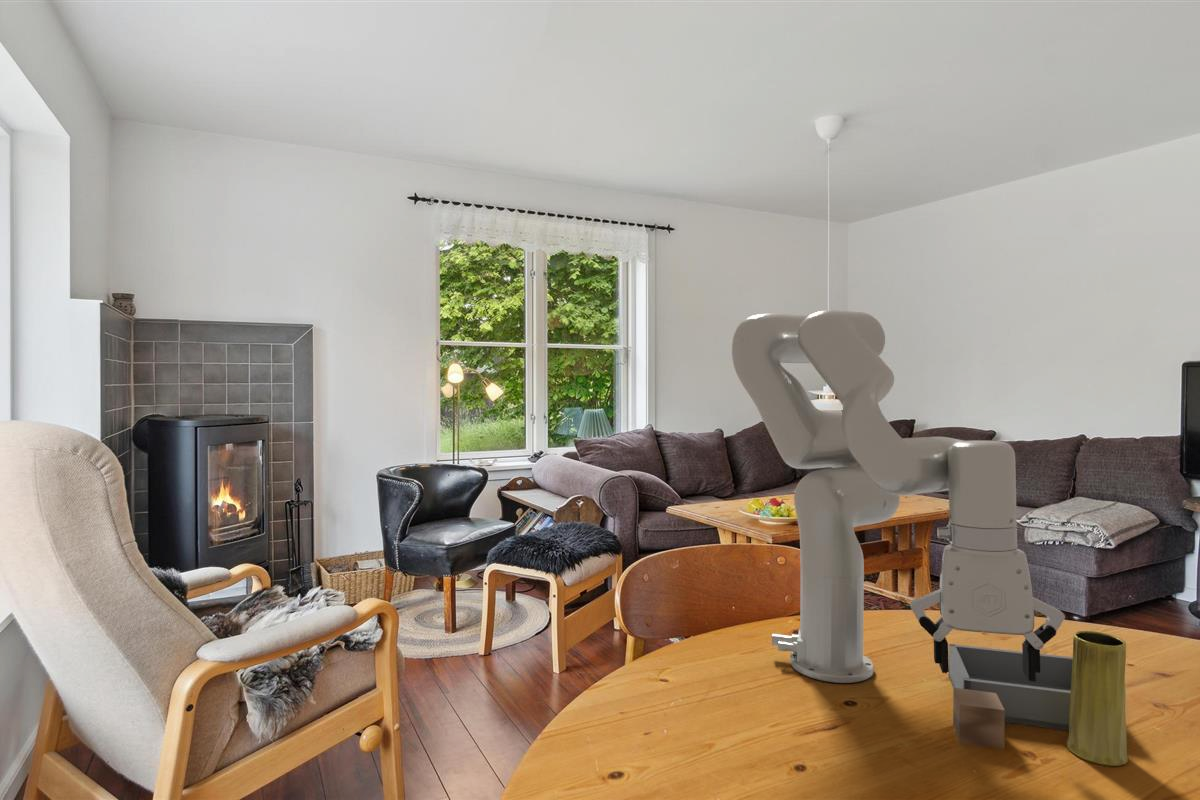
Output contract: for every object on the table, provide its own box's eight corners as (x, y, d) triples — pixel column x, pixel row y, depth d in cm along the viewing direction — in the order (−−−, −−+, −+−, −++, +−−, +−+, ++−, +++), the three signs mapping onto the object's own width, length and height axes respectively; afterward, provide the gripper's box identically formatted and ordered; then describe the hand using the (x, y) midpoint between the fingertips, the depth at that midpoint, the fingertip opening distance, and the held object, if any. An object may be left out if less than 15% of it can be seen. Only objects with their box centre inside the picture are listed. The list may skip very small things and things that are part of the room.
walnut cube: (959, 743, 88) (959, 704, 88) (953, 724, 93) (953, 687, 93) (1004, 750, 87) (1004, 710, 86) (995, 730, 91) (996, 693, 91)
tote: (963, 716, 95) (964, 680, 95) (948, 675, 108) (949, 643, 108) (1117, 737, 89) (1118, 698, 89) (1082, 692, 102) (1082, 658, 102)
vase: (1138, 769, 82) (1141, 649, 81) (1080, 764, 83) (1082, 645, 83) (1112, 743, 88) (1114, 630, 87) (1057, 738, 89) (1060, 627, 89)
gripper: (911, 541, 88) (914, 677, 88) (1071, 547, 82) (1074, 693, 82) (905, 530, 95) (908, 656, 95) (1052, 535, 89) (1056, 669, 89)
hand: (985, 673), depth 89 cm, fingers open, 9 cm apart
